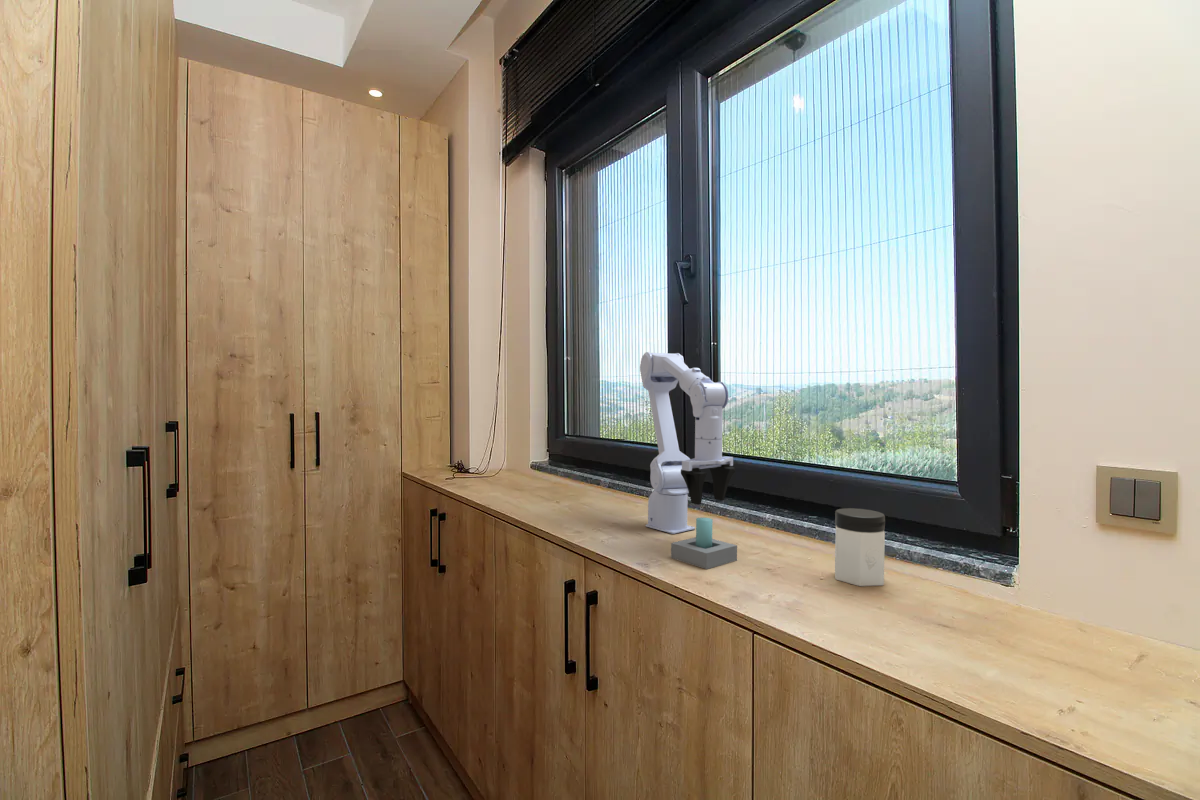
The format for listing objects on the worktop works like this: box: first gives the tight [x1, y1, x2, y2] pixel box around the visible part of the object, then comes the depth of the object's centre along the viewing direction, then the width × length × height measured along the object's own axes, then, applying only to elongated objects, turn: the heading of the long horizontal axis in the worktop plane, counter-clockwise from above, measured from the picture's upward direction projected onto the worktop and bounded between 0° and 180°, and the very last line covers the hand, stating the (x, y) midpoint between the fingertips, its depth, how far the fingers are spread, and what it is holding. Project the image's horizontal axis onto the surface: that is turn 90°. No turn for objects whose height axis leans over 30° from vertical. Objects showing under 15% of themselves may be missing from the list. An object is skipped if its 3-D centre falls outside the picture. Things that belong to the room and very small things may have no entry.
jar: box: [834, 507, 886, 587], centre depth 102 cm, size 9×8×12 cm
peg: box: [695, 517, 714, 549], centre depth 113 cm, size 3×3×8 cm
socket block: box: [670, 536, 738, 570], centre depth 113 cm, size 9×9×3 cm
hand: (707, 501), depth 121 cm, fingers open, 7 cm apart
